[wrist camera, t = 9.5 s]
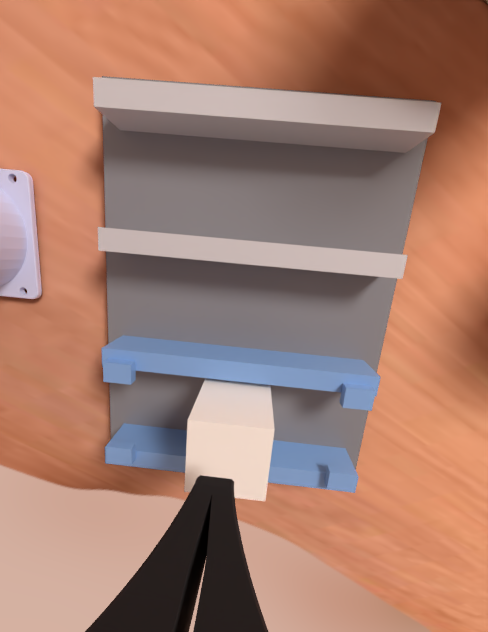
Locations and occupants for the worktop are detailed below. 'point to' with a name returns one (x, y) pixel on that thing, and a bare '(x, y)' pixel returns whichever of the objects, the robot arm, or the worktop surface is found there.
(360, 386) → the grey railed board
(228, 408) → the cream plug
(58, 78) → the worktop surface
